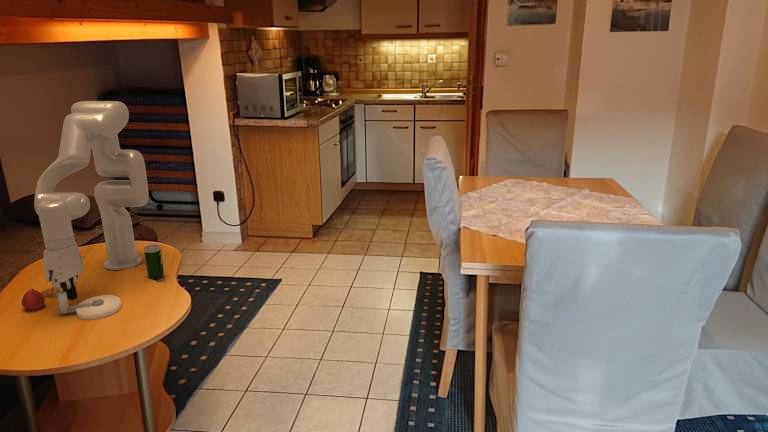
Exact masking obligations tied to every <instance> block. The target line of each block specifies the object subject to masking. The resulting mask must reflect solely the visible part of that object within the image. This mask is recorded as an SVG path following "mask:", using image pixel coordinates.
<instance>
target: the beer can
mask: <svg viewBox="0 0 768 432" xmlns="http://www.w3.org/2000/svg"><path fill="white" fill-rule="evenodd" d="M143 252H144V258H145V259H144V261H145V266H146V274H147V279H149V280H153V281H155V282H156V283H158V282H162V281H163V280H164V279H165V269H164V261H163V254H162V253H163V252H162V248H161V245H160V244H157V243H156V244H155V243H153V244H148V245H146V246H145V247H144V250H143Z"/></svg>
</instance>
